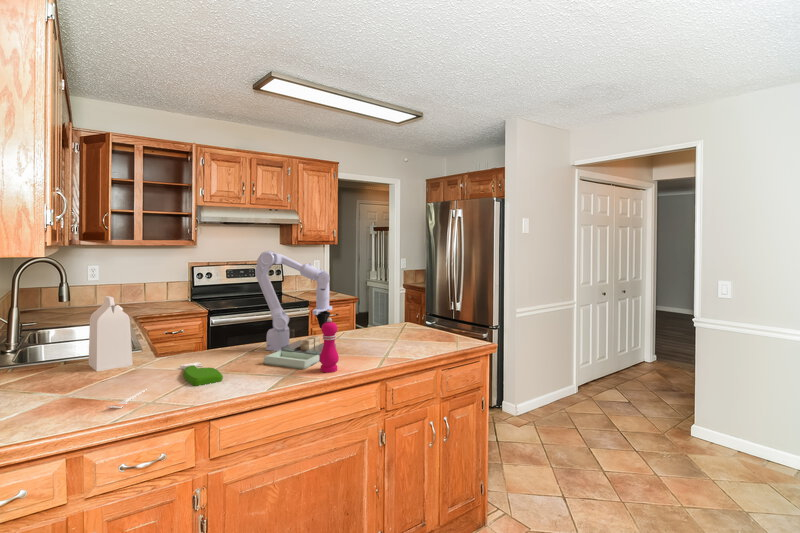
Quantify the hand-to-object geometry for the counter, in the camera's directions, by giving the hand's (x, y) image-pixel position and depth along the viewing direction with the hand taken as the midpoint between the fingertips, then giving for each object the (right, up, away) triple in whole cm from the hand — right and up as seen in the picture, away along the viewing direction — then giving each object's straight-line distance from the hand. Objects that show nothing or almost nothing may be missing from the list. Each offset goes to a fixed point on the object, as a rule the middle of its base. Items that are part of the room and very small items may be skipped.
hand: (322, 328), depth 197 cm
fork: (-47, -13, -64) cm, 80 cm away
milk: (-75, -10, -30) cm, 82 cm away
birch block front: (-4, -7, -12) cm, 14 cm away
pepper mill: (+8, -12, -31) cm, 34 cm away
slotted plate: (-4, -10, -10) cm, 15 cm away
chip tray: (-8, -11, -23) cm, 26 cm away
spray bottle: (-37, -12, -40) cm, 56 cm away
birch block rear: (-3, -7, -7) cm, 10 cm away
